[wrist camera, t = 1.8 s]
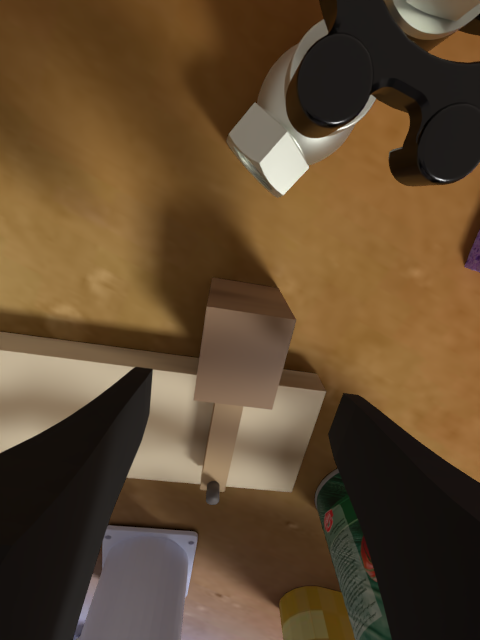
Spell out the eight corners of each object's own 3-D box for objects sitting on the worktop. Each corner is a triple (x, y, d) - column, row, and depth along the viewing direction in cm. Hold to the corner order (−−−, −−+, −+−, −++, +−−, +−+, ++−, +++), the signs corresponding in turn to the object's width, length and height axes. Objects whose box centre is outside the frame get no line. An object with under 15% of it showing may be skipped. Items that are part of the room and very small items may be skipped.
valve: (201, 120, 14) (117, -128, 3) (303, -8, 13) (794, -1334, 2) (291, 220, 16) (427, 268, 5) (390, 119, 15) (884, -117, 4)
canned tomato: (322, 532, 27) (380, 735, 17) (306, 472, 24) (364, 676, 14) (410, 512, 26) (525, 710, 16) (404, 449, 23) (541, 643, 13)
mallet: (240, 450, 23) (243, 514, 18) (187, 444, 22) (177, 509, 18) (278, 288, 18) (296, 320, 13) (212, 277, 17) (206, 306, 13)
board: (286, 469, 24) (291, 492, 22) (-70, 434, 21) (-99, 457, 19) (317, 373, 20) (326, 391, 18) (-103, 317, 18) (-142, 332, 16)
